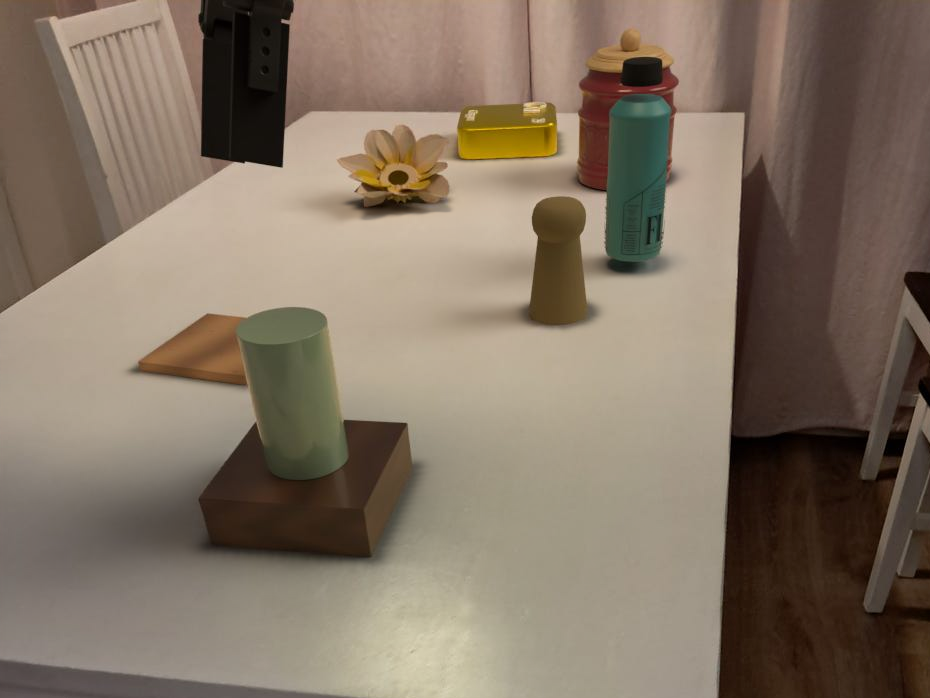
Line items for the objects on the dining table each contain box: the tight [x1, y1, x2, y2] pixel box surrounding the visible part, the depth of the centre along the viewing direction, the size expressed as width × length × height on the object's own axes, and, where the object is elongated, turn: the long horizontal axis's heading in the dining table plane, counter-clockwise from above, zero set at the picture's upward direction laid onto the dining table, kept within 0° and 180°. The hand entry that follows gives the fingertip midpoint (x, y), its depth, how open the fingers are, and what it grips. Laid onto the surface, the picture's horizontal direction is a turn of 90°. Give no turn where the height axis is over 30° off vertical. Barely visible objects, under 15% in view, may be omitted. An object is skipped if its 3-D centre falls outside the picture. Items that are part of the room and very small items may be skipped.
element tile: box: [456, 101, 558, 161], centre depth 143 cm, size 15×15×5 cm
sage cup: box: [236, 306, 349, 480], centre depth 64 cm, size 6×6×10 cm
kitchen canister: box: [576, 28, 680, 191], centre depth 122 cm, size 13×13×18 cm
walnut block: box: [197, 419, 413, 558], centre depth 68 cm, size 12×12×4 cm
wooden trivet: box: [137, 312, 248, 386], centre depth 91 cm, size 12×12×1 cm
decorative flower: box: [336, 123, 450, 208], centre depth 121 cm, size 15×11×10 cm
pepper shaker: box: [528, 195, 588, 326], centre depth 91 cm, size 6×6×11 cm
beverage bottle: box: [603, 57, 671, 262], centre depth 97 cm, size 6×7×20 cm
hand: (237, 162), depth 54 cm, fingers open, 13 cm apart
